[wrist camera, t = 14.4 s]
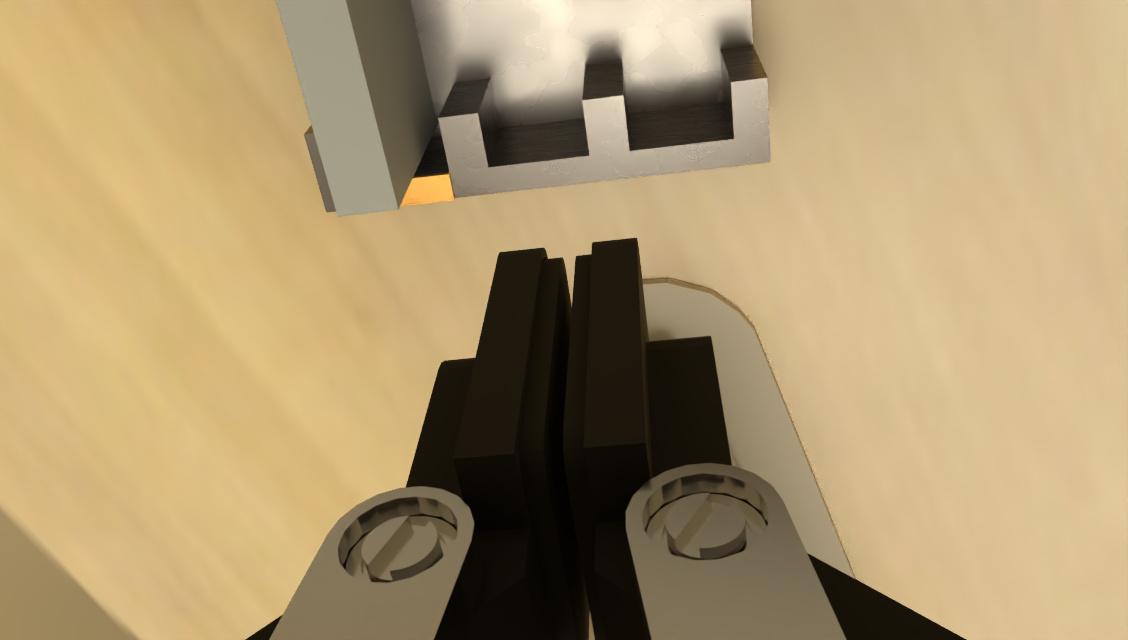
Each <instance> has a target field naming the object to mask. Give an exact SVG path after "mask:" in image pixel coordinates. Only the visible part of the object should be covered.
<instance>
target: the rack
mask: <svg viewBox="0 0 1128 640" xmlns="http://www.w3.org/2000/svg"><path fill="white" fill-rule="evenodd" d="M410 1H411V5H412V10H413V15H414V19H415V24H416V28H417V33H418V37H419V42H420V47H421V51H422V56H423V60H424V65H425V69H426V74H427V79H428V83H429V88H430V92H431V97H432V102H433V106H434V111H435V115H436V120H437V126H436V128H435V130H434V132H433V134H432V137H431V139H430V141H429V143H428V146H427V148H426V150H425V152H424V154H423V157H422V159H421V161H420V163H419V165H418V168H417V170H416V172H415V174H414V176H413V179H412V181H411V183H410V185H409V187H408V190H407V192H406V194H405V196H404V198H403V201H402V203H401V205H400V206H407V205H416V204H425V203H433V202H442V201H451V200H454V199H455V198H458V197H467V196H476V195H485V194H494V193H502V192H511V191H520V190H529V189H538V188H547V187H556V186H564V185H573V184H582V183H591V182H600V181H609V180H617V179H626V178H635V177H644V176H653V175H662V174H670V173H679V172H688V171H697V170H706V169H715V168H723V167H732V166H741V165H750V164H759V163H768V162H770V136H769V108H768V79H767V76H766V73H765V71H764V69H763V67H762V64H761V62H760V60H759V58H758V55H757V53H756V51H755V49H754V46H753V38H752V14H751V0H410ZM304 136H305V139H306V143H307V146H308V150H309V153H310V157H311V160H312V164H313V167H314V171H315V174H316V178H317V181H318V185H319V188H320V192H321V195H322V199H323V202H324V206H325V209H326V212H335V211H336V209H335V205H334V202H333V198H332V195H331V191H330V188H329V184H328V181H327V177H326V174H325V170H324V167H323V163H322V160H321V156H320V153H319V149H318V146H317V142H316V139H315V135H314V132H313V128H312V125H311V126H310V127H309V129H308V130H307V131H306V133H305V134H304Z"/></svg>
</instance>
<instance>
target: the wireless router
mask: <svg viewBox="0 0 1128 640" xmlns="http://www.w3.org/2000/svg"><path fill="white" fill-rule="evenodd" d="M642 282H643V291H644V300H645V309H646V318H647V326H648V335H649V341H659V340H669V339H680V338H690V337H701V336H711V338H712V344H713V350H714V356H715V362H716V368H717V375H718V381H719V387H720V393H721V399H722V406H723V412H724V418H725V424H726V430H727V437H728V443H729V449H730V455H731V461H732V466H736V467H739V468H741V469H744V470H747V471H750V472H752V473H755V474H757V475H758V476H760V477H761V478H762V479H764V480H765V481H767V482H768V483H770V484H771V485H772V486H773V487H774V489H775V490H776V491H777V493H778V494H779V495H780V497H781V498H782V500H783V501H784V503H785V506H786V508H787V510H788V512H789V514H790V517H791V519H792V521H793V523H794V525H795V528H796V530H797V532H798V534H799V536H800V539H801V541H802V543H803V545H804V547H805V550H806V552H807V553H808V554H810V555H812V556H814V557H816V558H817V559H819V560H821V561H823V562H825V563H827V564H828V565H830V566H832V567H834V568H836V569H838V570H839V571H841V572H843V573H845V574H847V575H849V576H850V577H852V578H854V579H855V577H854V574H853V572H852V569H851V567H850V564H849V562H848V559H847V557H846V554H845V552H844V549H843V547H842V544H841V542H840V539H839V537H838V534H837V532H836V529H835V527H834V524H833V522H832V519H831V517H830V514H829V512H828V509H827V507H826V504H825V502H824V499H823V497H822V494H821V492H820V489H819V487H818V484H817V482H816V479H815V477H814V474H813V472H812V469H811V467H810V464H809V462H808V459H807V457H806V454H805V452H804V449H803V447H802V444H801V442H800V439H799V437H798V434H797V432H796V429H795V427H794V424H793V422H792V419H791V417H790V414H789V412H788V409H787V407H786V404H785V402H784V400H783V397H782V395H781V392H780V390H779V387H778V385H777V382H776V380H775V377H774V375H773V372H772V370H771V367H770V365H769V362H768V360H767V357H766V355H765V352H764V350H763V347H762V345H761V342H760V340H759V337H758V335H757V332H756V330H755V327H754V326H753V325H752V324H751V322H750V321H749V320H748V319H747V318H746V316H745V315H744V314H743V313H742V312H741V310H740V309H739V308H738V307H737V306H735V305H734V304H733V303H731V302H730V301H728V300H727V299H725V298H724V297H723V296H721V295H720V294H718V293H717V292H715V291H714V290H712V289H708V288H705V287H701V286H698V285H694V284H691V283H687V282H683V281H680V280H676V279H672V278H661V279H647V280H642ZM589 640H595V637H594V632H593V626H592V621H591V615H590V614H589Z"/></svg>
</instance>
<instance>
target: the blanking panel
mask: <svg viewBox="0 0 1128 640" xmlns="http://www.w3.org/2000/svg"><path fill="white" fill-rule="evenodd" d="M276 3H277V6H278V10H279V13H280V17H281V20H282V24H283V27H284V31H285V34H286V38H287V41H288V45H289V48H290V52H291V55H292V59H293V62H294V66H295V69H296V73H297V76H298V80H299V83H300V87H301V90H302V94H303V97H304V101H305V104H306V108H307V111H308V115H309V118H310V121H311V125H312V128H313V132H314V135H315V139H316V142H317V146H318V149H319V153H320V156H321V160H322V163H323V167H324V170H325V174H326V177H327V181H328V184H329V188H330V191H331V195H332V198H333V202H334V205H335V209H336V212H337V216H338V217H340V216H349V215H357V214H366V213H374V212H383V211H392V210H398V209H399V207H400V205H401V203H402V201H403V198H404V196H405V194H406V192H407V190H408V187H409V185H410V183H411V181H412V179H413V176H414V174H415V172H416V170H417V168H418V165H419V163H420V161H421V159H422V157H423V154H424V152H425V150H426V148H427V146H428V143H429V141H430V139H431V137H432V134H433V132H434V130H435V128H436V126H437V120H436V115H435V111H434V106H433V102H432V97H431V92H430V88H429V83H428V79H427V74H426V69H425V65H424V60H423V56H422V51H421V47H420V42H419V37H418V33H417V28H416V24H415V19H414V15H413V10H412V5H411V1H410V0H276Z"/></svg>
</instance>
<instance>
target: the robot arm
mask: <svg viewBox="0 0 1128 640" xmlns="http://www.w3.org/2000/svg"><path fill="white" fill-rule="evenodd" d="M589 614H590V615H591V621H592V626H593V632H594V637H595V640H966V639H964V638H962V637H960V636H959V635H957V634H955V633H953V632H951V631H949V630H948V629H946V628H944V627H942V626H940V625H938V624H937V623H935V622H933V621H931V620H929V619H927V618H926V617H924V616H922V615H920V614H918V613H916V612H915V611H913V610H911V609H909V608H907V607H905V606H904V605H902V604H900V603H898V602H896V601H894V600H893V599H891V598H889V597H887V596H885V595H883V594H882V593H880V592H878V591H876V590H874V589H872V588H871V587H869V586H867V585H865V584H863V583H861V582H860V581H858V580H856V579H854V578H852V577H850V576H849V575H847V574H845V573H843V572H841V571H839V570H838V569H836V568H834V567H832V566H830V565H828V564H827V563H825V562H823V561H821V560H819V559H817V558H816V557H814V556H812V555H810V554H808V553H807V552H806V550H805V547H804V545H803V543H802V541H801V539H800V536H799V534H798V532H797V530H796V528H795V525H794V523H793V521H792V519H791V517H790V514H789V512H788V510H787V508H786V506H785V503H784V501H783V500H782V498H781V497H780V495H779V494H778V493H777V491H776V490H775V489H774V487H773V486H772V485H771V484H770V483H768V482H767V481H765V480H764V479H762V478H761V477H760V476H758V475H757V474H755V473H752V472H750V471H747V470H744V469H741V468H739V467H736V466H732V461H731V455H730V449H729V443H728V437H727V430H726V424H725V418H724V412H723V406H722V399H721V393H720V387H719V381H718V375H717V368H716V362H715V356H714V350H713V344H712V338H711V336H701V337H690V338H680V339H669V340H659V341H649V335H648V326H647V318H646V309H645V300H644V291H643V282H642V273H641V265H640V256H639V247H638V240H637V238H630V239H621V240H611V241H602V242H593V243H592V254H591V255H582V256H576V261H575V274H574V288H573V302H572V306H571V300H570V293H569V287H568V281H567V274H566V268H565V263H564V260H563V258H553V259H548V257H547V253H546V250H545V248H536V249H527V250H517V251H508V252H500V253H499V255H498V259H497V264H496V268H495V273H494V277H493V282H492V286H491V291H490V295H489V300H488V304H487V309H486V313H485V318H484V322H483V327H482V331H481V336H480V340H479V345H478V349H477V354H476V358H469V359H458V360H448V361H444V362H442V363H441V365H440V367H439V370H438V373H437V377H436V380H435V384H434V387H433V391H432V395H431V398H430V402H429V406H428V409H427V413H426V416H425V420H424V424H423V427H422V431H421V434H420V438H419V442H418V445H417V449H416V453H415V456H414V460H413V463H412V467H411V471H410V474H409V478H408V481H407V485H406V488H399V489H395V490H392V491H388V492H385V493H381V494H378V495H376V496H374V497H372V498H370V499H368V500H366V501H364V502H362V503H360V504H358V505H356V506H355V507H354V508H353V509H351V510H350V511H349V512H348V513H346V514H345V515H344V516H343V517H341V518H340V519H339V520H338V522H337V523H336V524H335V526H334V527H333V528H332V529H331V531H330V532H329V533H328V535H327V536H326V538H325V540H324V542H323V544H322V545H321V547H320V549H319V551H318V553H317V554H316V556H315V558H314V560H313V562H312V563H311V565H310V567H309V569H308V571H307V572H306V574H305V576H304V578H303V580H302V581H301V583H300V585H299V587H298V589H297V590H296V592H295V594H294V596H293V598H292V599H291V601H290V603H289V605H288V607H287V608H286V610H285V612H284V614H283V615H282V616H280V617H279V618H277V619H276V620H274V621H273V622H271V623H270V624H268V625H267V626H265V627H264V628H262V629H261V630H259V631H258V632H256V633H255V634H253V635H252V636H250V637H249V638H247V639H246V640H589Z"/></svg>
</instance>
